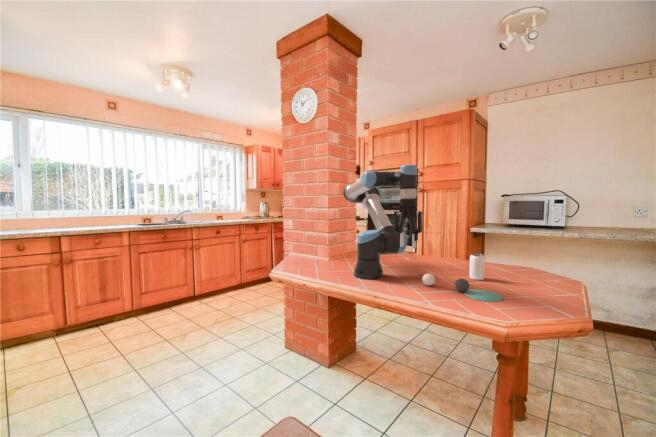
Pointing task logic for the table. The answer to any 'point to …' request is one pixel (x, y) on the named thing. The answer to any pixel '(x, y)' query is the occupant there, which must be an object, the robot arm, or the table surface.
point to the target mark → (484, 295)
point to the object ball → (462, 285)
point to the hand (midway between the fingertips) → (407, 246)
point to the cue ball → (428, 279)
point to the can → (477, 266)
